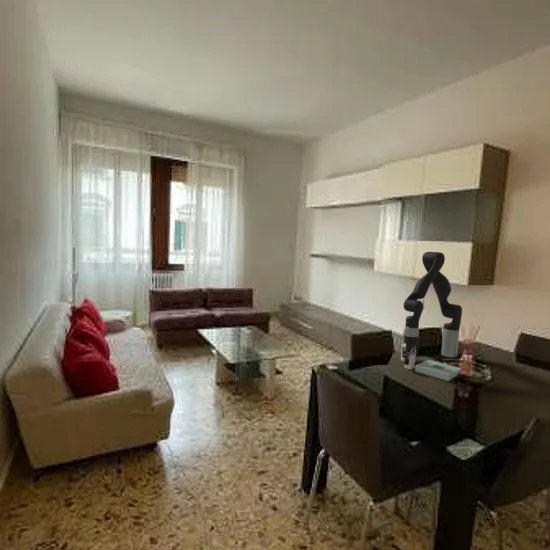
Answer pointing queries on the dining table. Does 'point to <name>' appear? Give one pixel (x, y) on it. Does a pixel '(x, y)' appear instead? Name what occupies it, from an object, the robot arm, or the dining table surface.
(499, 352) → the dining table surface
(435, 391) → the dining table surface
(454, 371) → the outlet block
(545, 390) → the dining table surface
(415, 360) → the teacup with lid
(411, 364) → the cream block with knob
